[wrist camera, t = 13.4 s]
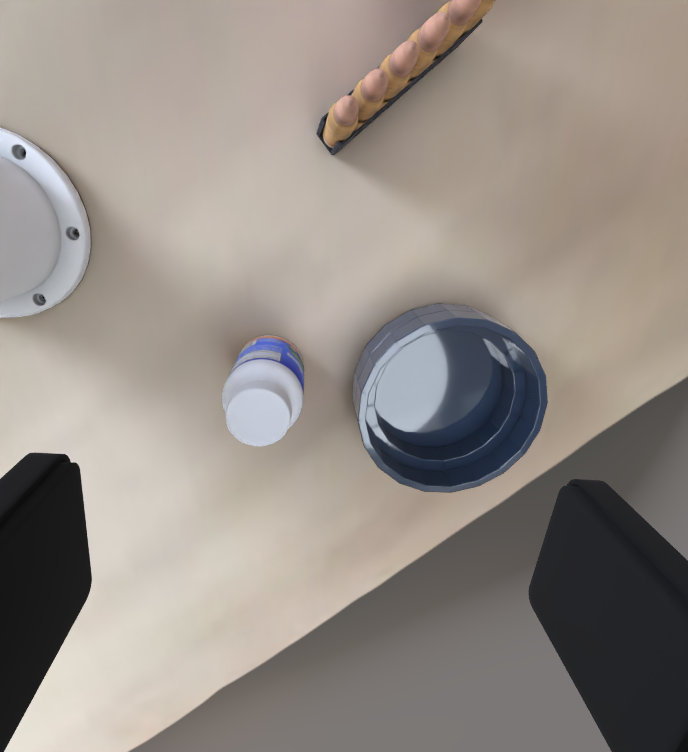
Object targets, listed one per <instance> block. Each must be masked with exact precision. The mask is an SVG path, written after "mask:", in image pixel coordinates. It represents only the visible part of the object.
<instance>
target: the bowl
mask: <svg viewBox="0 0 688 752" xmlns="http://www.w3.org/2000/svg"><path fill="white" fill-rule="evenodd" d="M352 398H353V403H354V407H355V411H356V415H357V420H358V424H359V428H360V432H361V437H362V441H363V445H364V447H365V449H366V450H367V452H368V453H369V455H370V456H371V458H372V459H373V461H374V462H375V464H376V465H377V467H379V469H381V470H382V471H384V472H385V473H386V474H388V475H389V476H390V477H392V478H393V479H394V480H396V481H397V482H398V483H400V484H403V485H406V486H409V487H412V488H415V489H418V490H421V491H425V492H450V493H451V492H456V491H460V490H464V489H468V488H473V487H477V486H480V485H482V484H484V483H486V482H488V481H490V480H491V479H493V478H495V477H497V476H499V475H501V474H503V473H504V472H506V471H507V470H508V469H509V468H510V467H511V466H512V465H513V464H514V463H515V462H517V461H518V460H519V459H520V458H521V457H522V456H523V455H524V454H525V453H526V452H527V450H528V448H529V447H530V445H531V444H532V442H533V440H534V439H535V437H536V436H537V434H538V432H539V431H540V429H541V425H542V421H543V418H544V414H545V410H546V407H547V403H548V401H547V386H546V375H545V373H544V371H543V368H542V366H541V364H540V362H539V360H538V357H537V355H536V353H535V351H534V350H533V349H532V348H531V347H530V346H529V345H528V344H527V343H526V342H525V341H524V340H523V339H522V338H521V337H520V336H519V335H518V334H517V333H516V332H514V331H513V330H511V329H510V328H508V327H507V326H505V325H504V324H502V323H500V322H499V321H497V320H496V319H494V318H493V317H491V316H489V315H487V314H485V313H482V312H480V311H478V310H476V309H473V308H471V307H469V306H466V305H454V304H441V303H439V304H434V305H430V306H425V307H421V308H417V309H413V310H411V311H408V312H406V313H405V314H403V315H401V316H400V317H398V318H396V319H395V320H393V321H391V322H389V323H388V324H386V325H385V326H384V327H383V328H382V329H381V330H380V331H379V332H378V333H377V334H376V336H375V337H374V338H373V339H372V340H371V341H370V342H369V343H368V344H367V346H366V347H365V349H364V351H363V354H362V356H361V358H360V360H359V362H358V364H357V366H356V369H355V373H354V382H353V391H352Z"/></svg>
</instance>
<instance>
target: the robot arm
mask: <svg viewBox="0 0 688 752" xmlns="http://www.w3.org/2000/svg"><path fill="white" fill-rule="evenodd" d="M24 150H26V153H27V154H26V157H25V156H24V154H23V151H24ZM76 229H77V230H78V231H79V234H80V235H79V236H77V235H76V233H75V230H76ZM90 249H91V239H90V227H89V223H88V218H87V214H86V210H85V208H84V206H83V203H82V201H81V199H80V196H79V194H78V192H77V190H76V189H75V187H74V186H73V184H72V183H71V181H70V179H69V178H68V176H67V175H66V174H65V173H64V171H63V170H62V169H61V168H60V167H59V166H58V165H57V163H56V162H55V161H54V160H53V159H52V158H51V157H49V156H48V155H47V154H46V153H45V152H43V151H42V150H41V149H40V148H39V147H38V146H36V145H35V144H33V143H31V142H30V141H28V140H26V139H25V138H23V137H21V136H20V135H18V134H16V133H13V132H11V131H8V130H6V129H3V128H1V127H0V317H2V318H6V317H23V316H28V315H33V314H37V313H39V312H42V311H44V310H47V309H49V308H51V307H53V306H55V305H56V304H58V303H60V302H62V301H63V300H64V299H65V298H66V297H67V296H69V295H70V294H71V293H72V292H73V291H74V290H75V288H76V287H77V285H78V284H79V282H80V281H81V279H82V278H83V275H84V273H85V270H86V268H87V265H88V262H89V255H90ZM42 296H44V297H45V299H46V300H44V299H43V297H42ZM91 582H92V576H91V566H90V557H89V548H88V539H87V530H86V520H85V511H84V502H83V493H82V484H81V475H80V468H79V466H78V464H77V463H71V462H70V459H69V457H68V456H67V455H65V454H50V453H29V454H28V455H26V456H25V457H24V458H23V459H22V460H20V461H19V462H18V463H17V464H16V465H15V466H14V467H13V468H12V469H11V470H10V471H9V472H7V473H6V474H5V475H4V476H3V477H2V478H1V479H0V752H4V750H5V749H6V747H7V745H8V743H9V741H10V739H11V738H12V736H13V734H14V732H15V730H16V728H17V727H18V725H19V723H20V721H21V719H22V717H23V716H24V714H25V712H26V710H27V708H28V706H29V705H30V703H31V701H32V699H33V697H34V695H35V694H36V692H37V690H38V688H39V686H40V684H41V682H42V681H43V679H44V677H45V675H46V673H47V671H48V670H49V668H50V666H51V664H52V662H53V660H54V659H55V657H56V655H57V653H58V651H59V649H60V648H61V646H62V644H63V642H64V640H65V638H66V637H67V635H68V633H69V631H70V629H71V627H72V625H73V624H74V622H75V620H76V618H77V616H78V614H79V613H80V611H81V609H82V607H83V605H84V603H85V602H86V600H87V597H88V595H89V592H90V588H91ZM529 599H530V603H531V606H532V608H533V610H534V612H535V613H536V615H537V617H538V619H539V621H540V622H541V624H542V626H543V628H544V630H545V632H546V633H547V635H548V637H549V639H550V641H551V642H552V644H553V646H554V648H555V649H556V651H557V653H558V655H559V657H560V658H561V660H562V662H563V664H564V666H565V667H566V670H567V671H568V673H569V675H570V677H571V679H572V680H573V682H574V684H575V686H576V688H577V689H578V691H579V693H580V695H581V697H582V698H583V700H584V702H585V704H586V706H587V708H588V709H589V711H590V713H591V715H592V717H593V718H594V720H595V722H596V724H597V726H598V728H599V729H600V731H601V733H602V735H603V737H604V738H605V740H606V742H607V744H608V746H609V747H610V749H611V751H612V752H688V561H687V560H686V559H685V558H684V557H683V556H682V555H681V554H680V553H679V552H678V551H677V550H676V549H675V548H674V547H673V546H672V545H671V544H670V543H668V542H667V541H666V540H665V539H664V538H663V537H662V536H661V535H660V534H659V533H658V532H657V531H656V530H655V529H654V528H653V527H652V526H651V525H649V523H647V522H646V521H645V520H644V519H643V518H642V517H641V516H640V515H639V514H638V513H637V512H636V511H635V510H634V509H633V508H632V507H631V506H630V505H629V504H628V503H627V502H625V501H624V500H623V499H622V498H621V497H620V496H619V495H618V494H617V493H616V492H615V491H614V490H613V489H612V488H611V487H610V486H609V485H608V484H606V483H605V482H603V481H599V480H580V479H574V480H571V481H570V482H569V483H568V484H567V486H564V487H562V488H561V489H560V491H559V494H558V497H557V500H556V503H555V507H554V510H553V513H552V516H551V519H550V522H549V526H548V529H547V532H546V535H545V539H544V542H543V545H542V548H541V551H540V555H539V558H538V561H537V564H536V567H535V571H534V574H533V577H532V580H531V584H530V586H529Z"/></svg>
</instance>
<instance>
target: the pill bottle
mask: <svg viewBox="0 0 688 752" xmlns="http://www.w3.org/2000/svg"><path fill="white" fill-rule="evenodd" d="M303 394H304V363H303V359H302V356H301V354H300V352H299V351H298V349H297V348H296V347H295V346H294V345H293V344H292V343H291V342H289V341H288V340H286V339H283V338H281V337H277V336H261V337H257V338H255V339H253V340H251V341H249V342H248V343H247V344H246V345H245V346H244V347H243V348H242V350H241V351H240V353H239V355H238V357H237V360H236V362H235V364H234V366H233V368H232V370H231V372H230V374H229V376H228V379H227V381H226V383H225V385H224V388H223V393H222V404H223V408H224V411H225V414H226V423H227V426H228V429H229V430H230V432H231V433H232V435H233V436H234V437H235V438H236V439H238V440H239V441H241V442H243V443H245V444H247V445H251V446H267V445H270V444H273V443H275V442H277V441H278V440H280V439H281V438H282V437H283V436H284V435H285V433H286V432H287V430H288V428H290V427H291V426H292V425H293V424H294V423H295V421H296V420H297V419H298V417H299V415H300V413H301V410H302V406H303Z"/></svg>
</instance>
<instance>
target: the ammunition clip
mask: <svg viewBox="0 0 688 752" xmlns="http://www.w3.org/2000/svg"><path fill="white" fill-rule="evenodd" d="M494 2H495V0H450V1H449V2H448V3H446V4H445V5H443V6H442V7H441V8H440V9H439V10H438V12H437V13H436V14H434V15H433V16H432V17H430V18H429V19H428V20H427V21H426V22H425V23H424V24H423V26H421V27H420V29H418V30H416V31H415V32H414V33H413V34H411V36H410V37H409V39H408V40H407V41H406V42H404V43H402V44H401V45H399V46H398V47H397V48H396V49H395V50H394V52H393V53H392V54H390V55H388V56H387V57H386V58H385V59H384V60H383V62H382V63H381V65H380V66H379V67H378V68H377V69H374V70H372V71H371V72H370V73H368V74H367V75H366V77H365V78H364V79H362V80H360V81H359V82H358V83H357V85H356V87H355V88H354V89H353V90H352V91H351V92H350V93H349V94H348V95H346V96H344V97H342V98H341V99H340V100H339V101H338V102H336V103H335V104H334V105H333V106H332V107H331V109H330V111H329V112H328V113H327V114H326V115H325V116H323V117H322V119H321V121H320V124H319V128H318V131H317V135H318V137H319V138H320V140H321V141H322V142H323V144H324V145H325V146H326V148H327V149H328V151H329V152H330V153H331V155H335V154H336V153H337V152H339V151H340V150H341V149H342V148H343V147H344V146H345V145H347V144H348V143H349V142H350V141H351V140H352V139H353V138H354V137H356V136H357V135H358V134H359V133H360V132H361V131H362V130H364V129H365V128H366V127H367V126H368V125H369V124H370V123H372V122H373V121H374V120H375V119H376V118H377V117H378V116H379V115H381V114H382V113H383V112H384V111H385V110H386V109H387V108H389V107H390V106H391V105H392V104H393V103H394V102H395V101H397V100H398V99H399V98H400V97H401V96H402V95H403V94H404V93H406V92H407V91H408V90H409V89H410V88H411V87H412V86H414V85H415V84H416V83H417V82H418V81H419V80H420V79H422V78H423V77H424V76H425V75H426V74H427V73H428V72H429V71H431V70H432V69H433V68H434V67H435V66H436V65H437V64H439V63H440V62H441V61H442V60H443V59H444V58H445V57H446V56H448V55H449V54H450V53H451V52H452V51H453V50H454V49H456V48H457V47H458V46H459V45H460V44H461V43H462V42H463V41H464V40H465V39H466V38H467V37H468V36H469V35H470V34H471V33H472V32H473V31H474V30H475V29H476V28H477V27H478V26H479V25H480V24H481V23H482V18H483V16H484V15H485V14H486V13H487V12H488V11H489V10H490V9H491V7H492V6H493V4H494Z"/></svg>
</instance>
